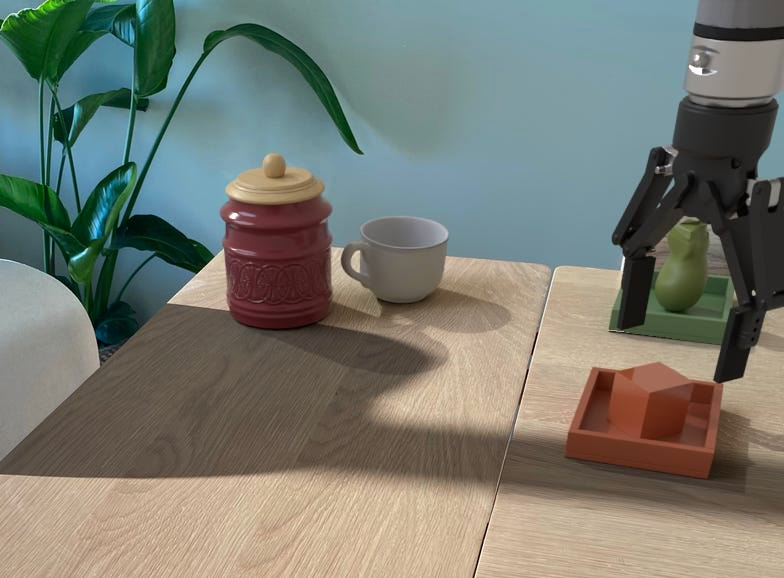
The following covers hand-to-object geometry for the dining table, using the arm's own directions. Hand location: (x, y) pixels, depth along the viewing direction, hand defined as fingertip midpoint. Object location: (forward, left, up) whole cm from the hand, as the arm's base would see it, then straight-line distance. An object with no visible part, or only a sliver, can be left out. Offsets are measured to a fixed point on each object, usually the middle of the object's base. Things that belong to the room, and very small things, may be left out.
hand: (676, 351), depth 91 cm
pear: (+20, -18, -6) cm, 28 cm away
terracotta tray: (-2, +3, -7) cm, 8 cm away
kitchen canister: (+42, +23, -7) cm, 49 cm away
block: (-1, +3, -6) cm, 7 cm away
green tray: (+20, -18, -7) cm, 28 cm away
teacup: (+40, +9, -7) cm, 42 cm away
